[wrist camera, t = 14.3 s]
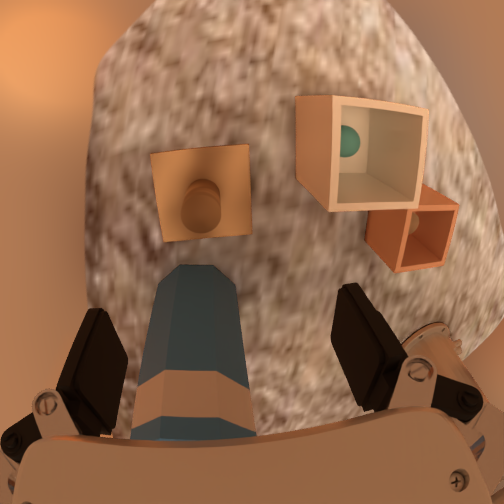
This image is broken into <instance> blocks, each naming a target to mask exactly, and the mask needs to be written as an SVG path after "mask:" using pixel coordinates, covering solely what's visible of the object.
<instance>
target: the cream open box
mask: <svg viewBox="0 0 504 504" xmlns="http://www.w3.org/2000/svg"><path fill="white" fill-rule="evenodd" d="M295 108H296V179H297V180H298V181H299V182H300V183H301V184H302V185H303V186H304V187H305V188H306V189H307V190H308V191H309V192H310V193H311V194H312V195H313V196H314V197H315V199H316V200H317V201H318V202H319V203H320V204H321V205H322V206H323V207H324V208H325V209H326V210H327V211H328V212H341V211H362V210H387V209H418V206H419V200H420V194H421V187H422V180H423V173H424V165H425V156H426V146H427V134H428V118H429V109H424V108H419V107H414V106H409V105H404V104H398V103H392V102H386V101H379V100H372V99H365V98H356V97H346V96H335V95H314V96H295ZM341 125H346V126H349V127H352V128H353V129H354V130H355V131H356V132H357V133H358V135H359V137H360V148H359V150H358V151H357V153H356V154H354V155H353V156H351V157H340V141H341Z"/></svg>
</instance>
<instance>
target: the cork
mask: <svg viewBox="0 0 504 504" xmlns="http://www.w3.org/2000/svg"><path fill="white" fill-rule="evenodd" d="M418 225H419V217H418V216H417V215H416V214H415V213H414V212H412V216H411V222H410V227H409V232H408V234H411V233H413V232H414V231H415V230H416V229H417V227H418Z"/></svg>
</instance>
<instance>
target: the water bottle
mask: <svg viewBox="0 0 504 504" xmlns="http://www.w3.org/2000/svg"><path fill="white" fill-rule="evenodd" d="M253 436H257V435H256V429H255V423H254V416H253V409H252V403H251V396H250V389H249V382H248V375H247V368H246V361H245V354H244V347H243V340H242V332H241V325H240V317H239V310H238V302H237V294H236V286H235V284H234V283H232V282H231V281H230V280H229V279H228V278H227V277H226V276H225V275H223V274H222V273H221V272H220V271H219V270H218V269H217V268H216V267H214V266H213V265H179V266H178V267H177V268H176V269H174V270H173V271H172V272H171V273H170V274H169V275H168V276H166V277H165V278H164V279H163V280H162V281H161V282H160V283H159V284H158V288H157V292H156V296H155V301H154V305H153V309H152V314H151V318H150V323H149V328H148V333H147V337H146V342H145V347H144V353H143V358H142V363H141V369H140V375H139V380H138V387H137V393H136V399H135V406H134V413H133V420H132V428H131V437H130V439H131V440H150V441H201V440H220V439H233V438H244V437H253Z"/></svg>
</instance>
